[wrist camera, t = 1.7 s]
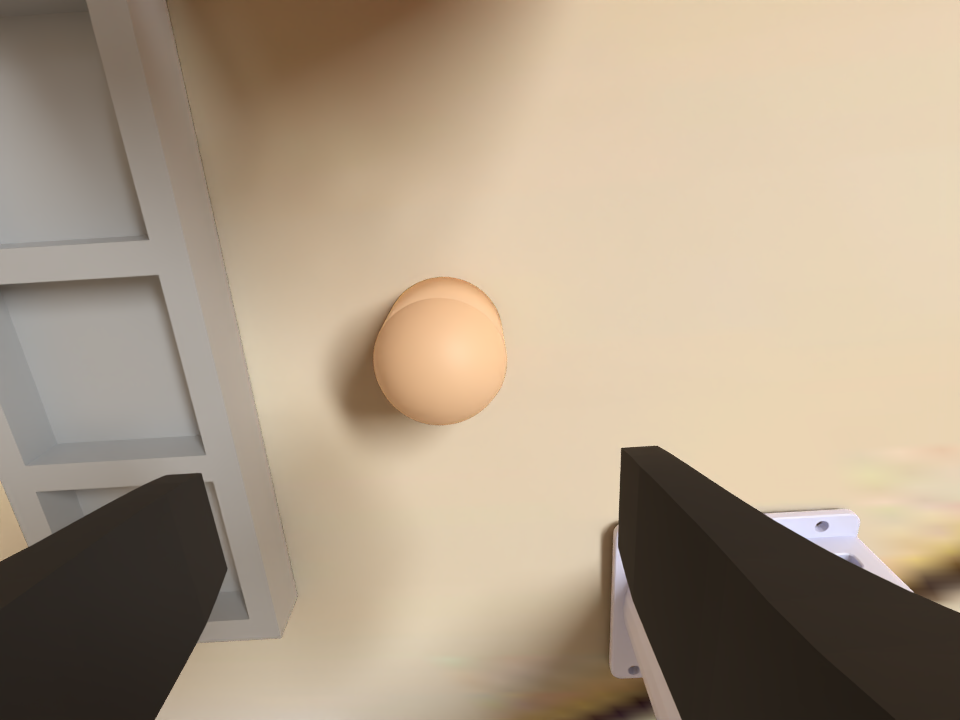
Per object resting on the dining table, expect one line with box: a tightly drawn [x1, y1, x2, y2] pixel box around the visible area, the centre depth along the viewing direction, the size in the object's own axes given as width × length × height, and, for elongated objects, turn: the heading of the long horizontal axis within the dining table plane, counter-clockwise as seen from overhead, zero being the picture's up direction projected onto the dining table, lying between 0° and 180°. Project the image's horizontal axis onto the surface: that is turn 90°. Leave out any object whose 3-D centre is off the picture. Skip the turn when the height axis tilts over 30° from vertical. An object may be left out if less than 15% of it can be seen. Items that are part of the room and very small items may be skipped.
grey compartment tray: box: [0, 0, 298, 643], centre depth 18 cm, size 8×22×2 cm, turn 3°
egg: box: [373, 277, 507, 425], centre depth 17 cm, size 4×4×4 cm
